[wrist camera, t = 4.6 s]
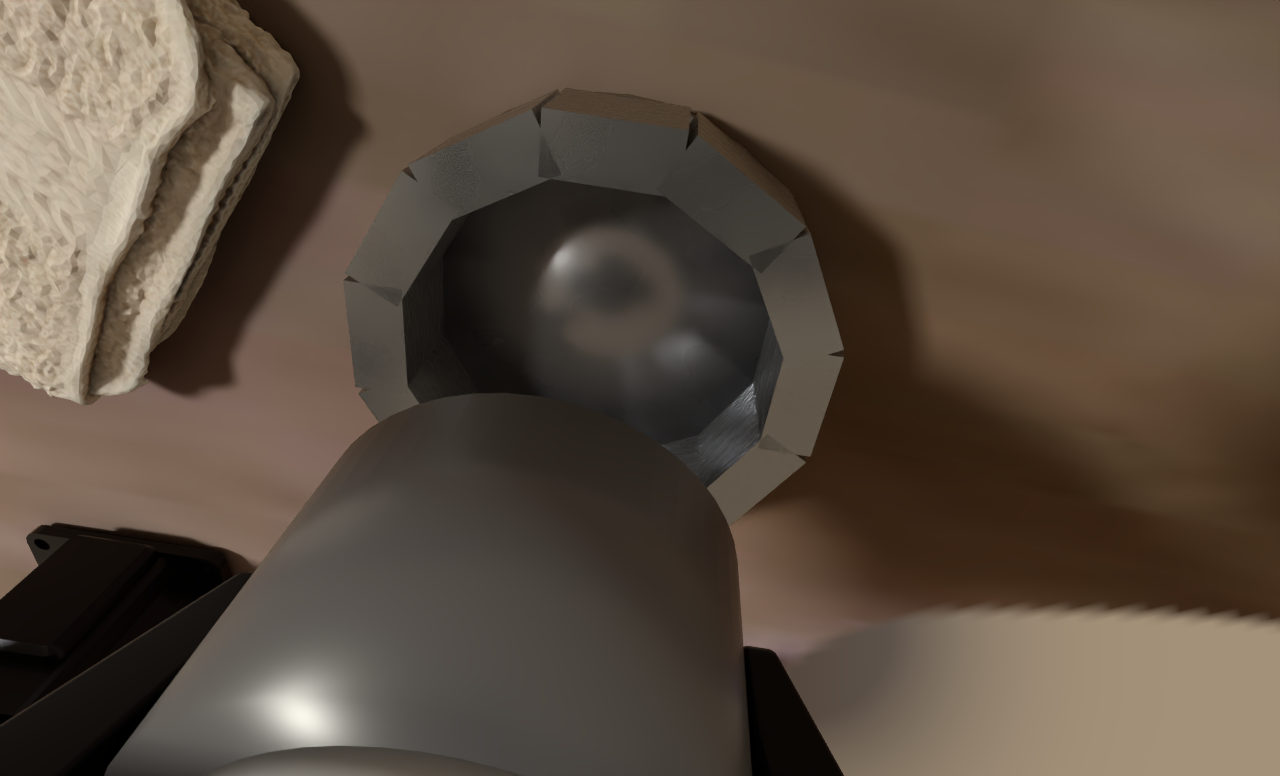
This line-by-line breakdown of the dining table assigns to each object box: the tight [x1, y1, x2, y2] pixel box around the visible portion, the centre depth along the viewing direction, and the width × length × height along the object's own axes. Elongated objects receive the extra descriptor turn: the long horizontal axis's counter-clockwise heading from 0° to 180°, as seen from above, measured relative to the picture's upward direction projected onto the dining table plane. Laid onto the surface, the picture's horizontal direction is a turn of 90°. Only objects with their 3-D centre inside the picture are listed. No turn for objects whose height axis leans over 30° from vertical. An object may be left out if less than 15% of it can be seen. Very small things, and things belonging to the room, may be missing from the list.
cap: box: [104, 393, 752, 776], centre depth 8 cm, size 6×6×4 cm
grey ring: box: [343, 88, 844, 526], centre depth 16 cm, size 10×10×3 cm
